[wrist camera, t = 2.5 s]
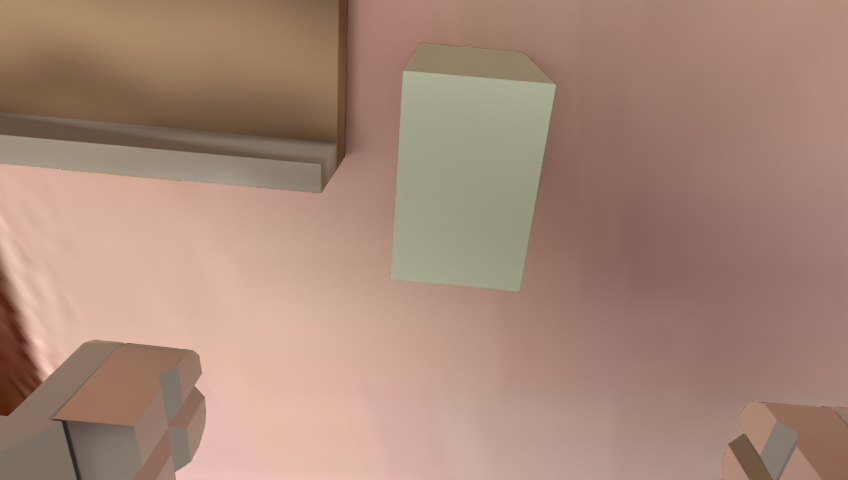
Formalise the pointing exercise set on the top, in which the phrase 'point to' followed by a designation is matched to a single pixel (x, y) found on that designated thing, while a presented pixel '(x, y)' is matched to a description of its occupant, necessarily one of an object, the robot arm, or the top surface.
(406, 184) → the carton
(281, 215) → the top surface
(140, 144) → the shelf board
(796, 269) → the top surface
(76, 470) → the robot arm
